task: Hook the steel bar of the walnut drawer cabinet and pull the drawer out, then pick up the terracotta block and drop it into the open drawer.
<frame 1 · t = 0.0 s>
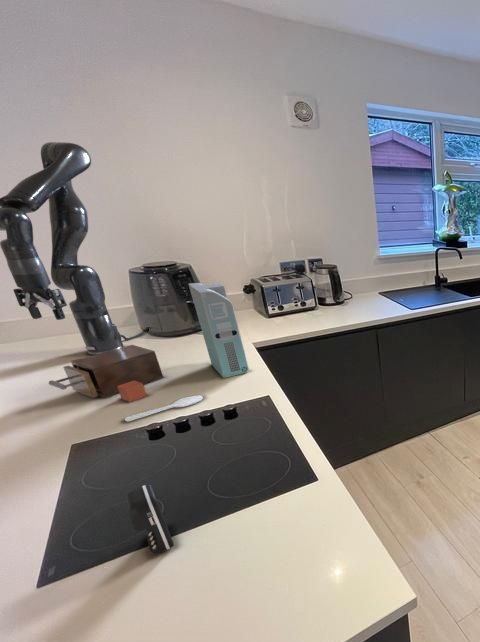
hand: (49, 318, 137), 17 cm above the worktop, tool pointing down, fingers open, 8 cm apart
cabinet: (124, 383, 131), on the worktop
drawer: (98, 376, 124), point 5 cm above the worktop, slide at 1.0 cm
device: (230, 368, 144), on the worktop
block: (134, 397, 122), on the worktop
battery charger: (158, 544, 73), on the worktop
spoon: (166, 409, 117), on the worktop
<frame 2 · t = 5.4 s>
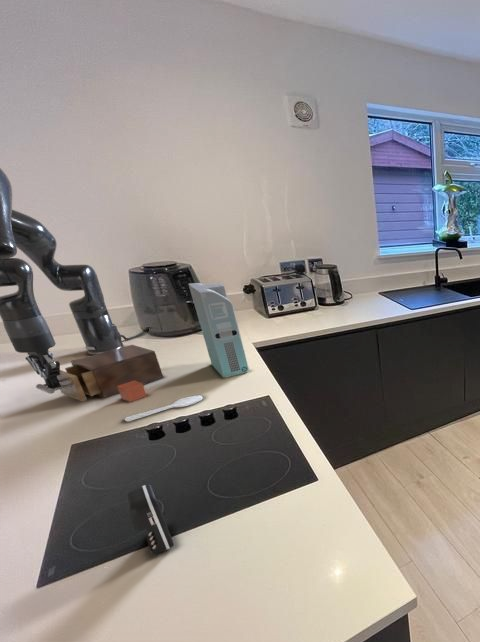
hand: (55, 388, 116), 5 cm above the worktop, tool pointing down, fingers closed
drawer: (87, 379, 122), point 5 cm above the worktop, slide at 3.6 cm, touching gripper
everything else where it was.
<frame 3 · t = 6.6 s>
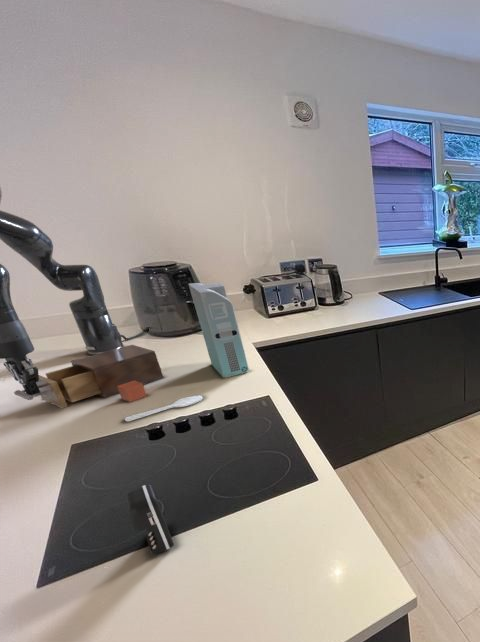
hand: (34, 395, 112), 5 cm above the worktop, tool pointing down, fingers closed
drawer: (69, 384, 119), point 5 cm above the worktop, slide at 7.9 cm, touching gripper
everything else where it was.
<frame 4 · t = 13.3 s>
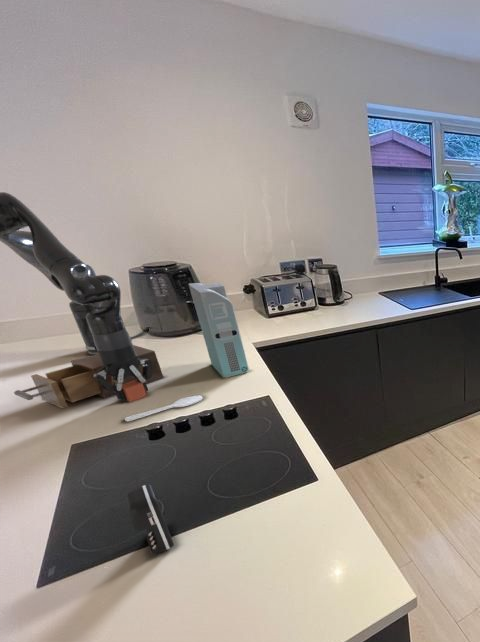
hand: (134, 396, 122), 0 cm above the worktop, tool pointing down, fingers closed on block, 4 cm apart
drawer: (69, 384, 119), point 5 cm above the worktop, slide at 7.9 cm
block: (134, 397, 122), on the worktop, touching gripper
everything else where it was.
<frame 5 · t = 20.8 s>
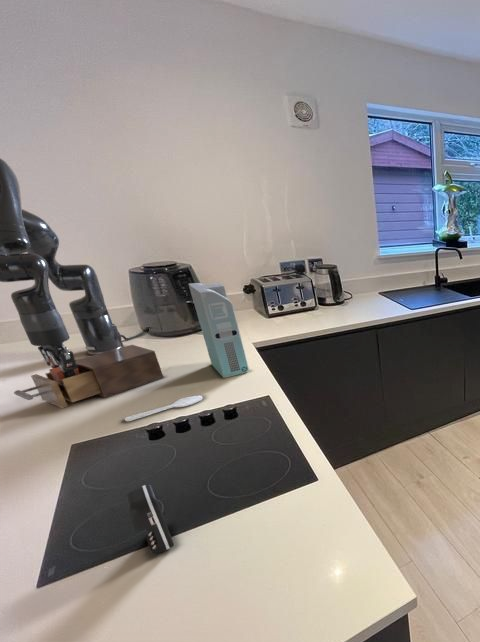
hand: (68, 380, 118), 6 cm above the worktop, tool pointing down, fingers closed on block, 4 cm apart
block: (68, 381, 118), point 6 cm above the worktop, touching gripper
everything else where it was.
when the fingers open (9 cm above the worktop, at t = 37.4 s): block drops 7 cm, resting on drawer.
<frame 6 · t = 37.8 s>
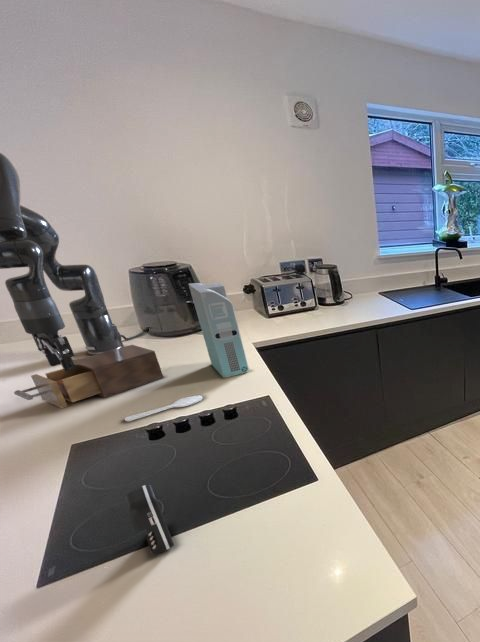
hand: (63, 367, 117), 11 cm above the worktop, tool pointing down, fingers open, 8 cm apart
drawer: (68, 385, 118), point 5 cm above the worktop, slide at 7.9 cm, touching block
block: (74, 392, 120), point 2 cm above the worktop, touching drawer
everything else where it was.
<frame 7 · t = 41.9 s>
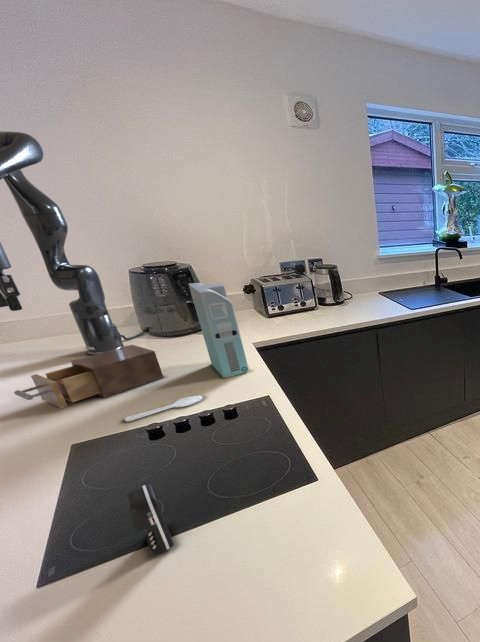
hand: (10, 308, 117), 26 cm above the worktop, tool pointing down, fingers open, 8 cm apart
nothing on the worktop moved.
at the end: drawer slide at 7.9 cm; block inside the target area in the drawer (0.8 cm from its centre), point 2.1 cm above the cabinet's base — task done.
